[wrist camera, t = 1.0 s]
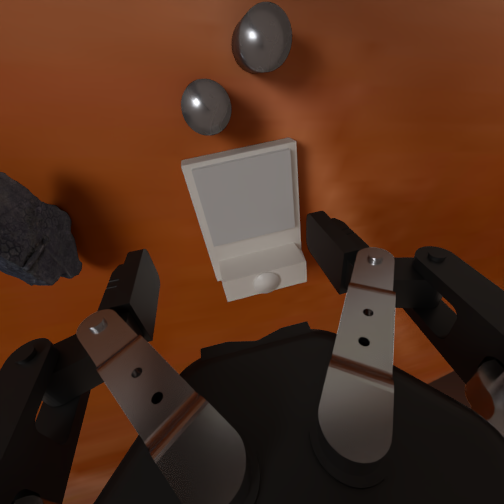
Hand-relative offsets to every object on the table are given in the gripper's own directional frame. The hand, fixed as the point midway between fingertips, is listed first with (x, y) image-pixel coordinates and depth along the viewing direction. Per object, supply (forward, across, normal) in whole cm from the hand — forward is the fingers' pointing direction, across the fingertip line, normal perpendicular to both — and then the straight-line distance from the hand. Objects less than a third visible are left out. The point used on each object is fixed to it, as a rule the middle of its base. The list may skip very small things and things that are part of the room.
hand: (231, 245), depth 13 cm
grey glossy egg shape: (+21, -7, -8) cm, 23 cm away
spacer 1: (+21, -1, -4) cm, 21 cm away
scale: (+20, -4, +9) cm, 22 cm away
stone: (+21, +20, +4) cm, 29 cm away
